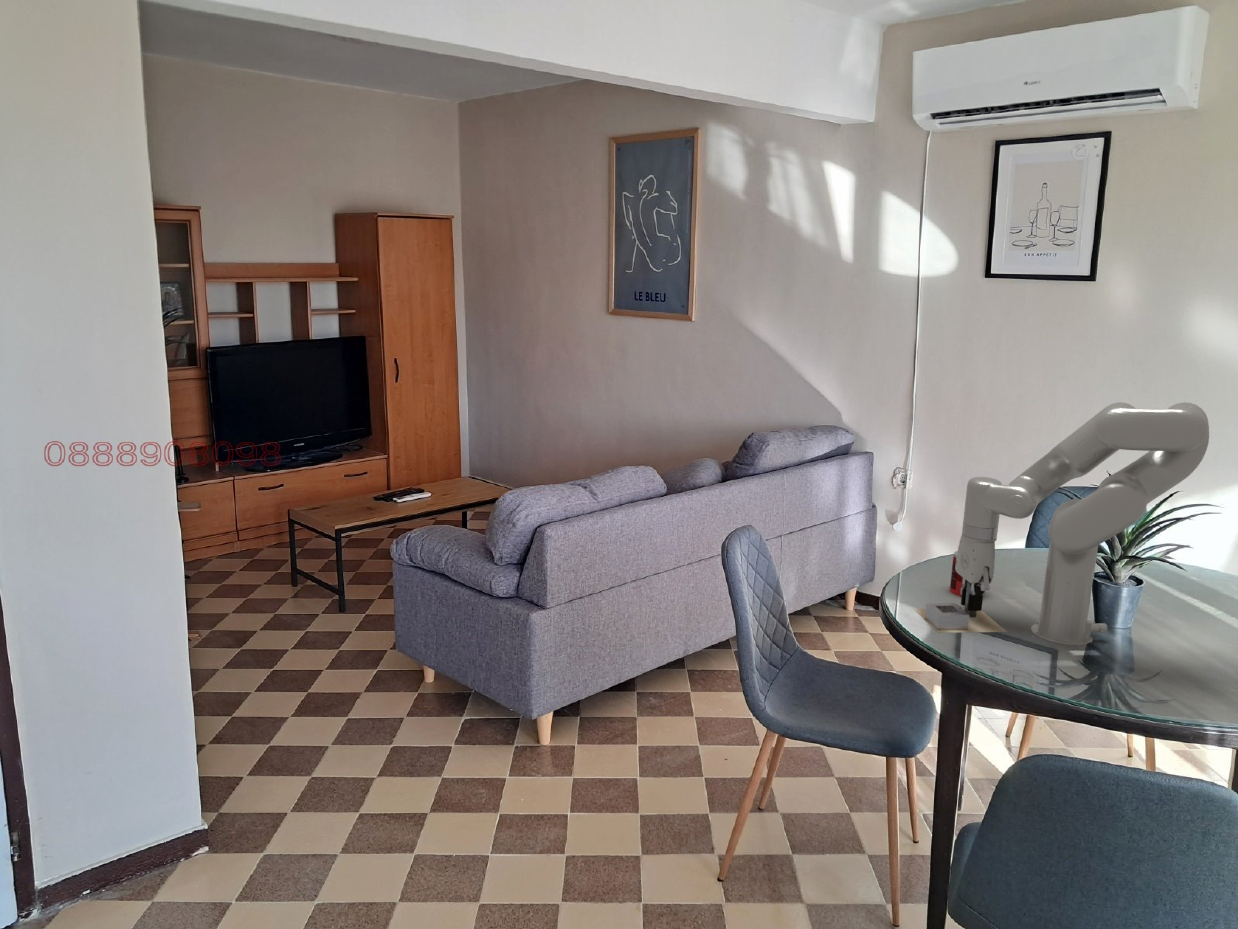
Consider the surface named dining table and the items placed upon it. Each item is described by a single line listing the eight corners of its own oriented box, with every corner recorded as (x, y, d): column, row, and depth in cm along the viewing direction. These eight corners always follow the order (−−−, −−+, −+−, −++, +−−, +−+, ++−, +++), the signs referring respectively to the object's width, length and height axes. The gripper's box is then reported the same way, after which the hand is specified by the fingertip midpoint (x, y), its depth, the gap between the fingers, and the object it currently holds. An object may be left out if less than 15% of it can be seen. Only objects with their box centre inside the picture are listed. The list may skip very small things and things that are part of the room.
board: (978, 613, 226) (978, 608, 226) (1006, 636, 212) (1007, 631, 212) (913, 614, 225) (913, 609, 224) (937, 637, 211) (938, 632, 211)
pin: (973, 612, 223) (976, 580, 221) (978, 617, 220) (982, 584, 219) (961, 612, 223) (965, 580, 221) (966, 617, 220) (970, 584, 218)
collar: (954, 617, 220) (955, 603, 219) (967, 629, 213) (969, 614, 212) (924, 618, 219) (926, 603, 218) (937, 629, 212) (939, 615, 211)
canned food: (989, 600, 235) (994, 557, 232) (963, 604, 232) (968, 561, 230) (968, 590, 242) (972, 548, 239) (942, 593, 239) (947, 551, 237)
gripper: (948, 521, 225) (940, 595, 229) (980, 542, 209) (970, 621, 213) (979, 521, 225) (971, 595, 229) (1012, 542, 210) (1003, 621, 214)
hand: (971, 607), depth 221 cm, fingers closed on pin, 2 cm apart
